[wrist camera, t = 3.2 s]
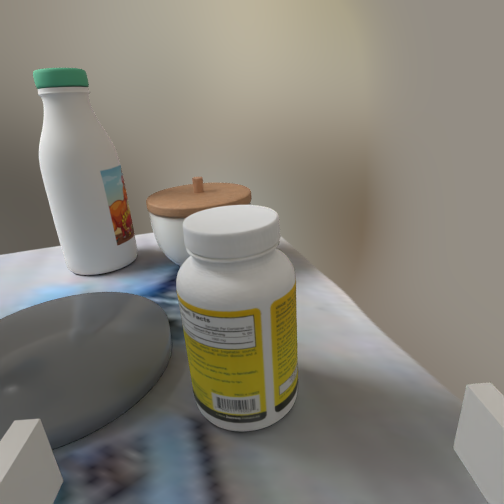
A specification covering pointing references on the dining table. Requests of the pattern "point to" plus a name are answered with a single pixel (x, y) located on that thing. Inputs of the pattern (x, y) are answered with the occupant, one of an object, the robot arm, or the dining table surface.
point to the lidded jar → (188, 211)
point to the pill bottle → (239, 316)
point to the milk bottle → (82, 177)
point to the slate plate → (80, 361)
